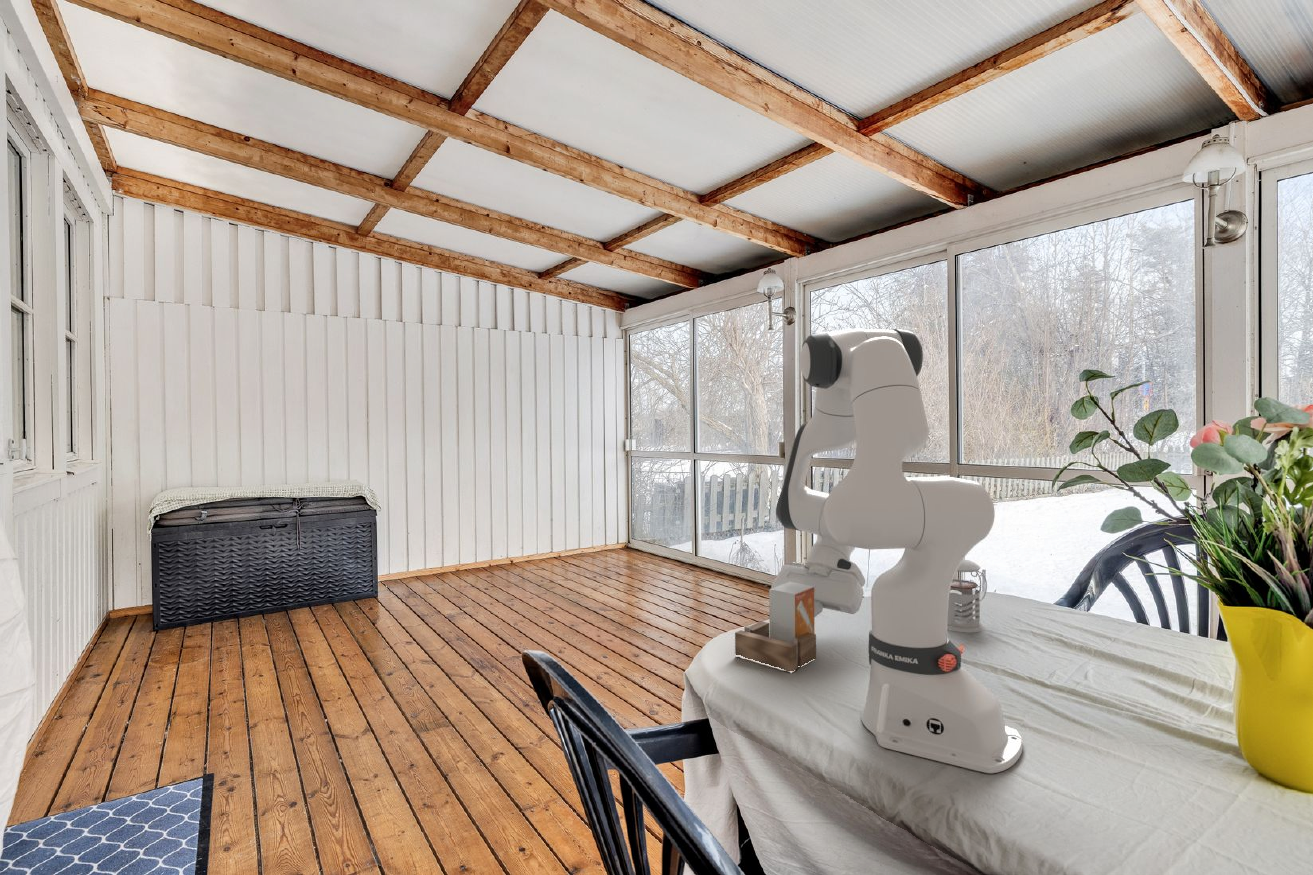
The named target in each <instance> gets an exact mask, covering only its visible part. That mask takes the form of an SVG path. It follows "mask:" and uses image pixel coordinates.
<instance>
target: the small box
mask: <svg viewBox="0 0 1313 875" xmlns="http://www.w3.org/2000/svg"><path fill="white" fill-rule="evenodd" d="M768 593H769V595H768V596H769V597H768V598H769V600H768V602H769V604H768V606H769V608H768V610H769V620H768V621H769V638H773V639H776V640H780V641H784V642H788V643H791V639H792V638H797V637H799V636H801V635H803V634H805V633H807V632H808V633H812V634H815V617H814V587H813V586H808V585H804V584H798V583H793V582H788V583H785V584H782V585H779V586H777V587H775V588H772V589H771V588H770V589H769V590H768Z"/></svg>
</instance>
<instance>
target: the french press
mask: <svg viewBox="0 0 1313 875" xmlns="http://www.w3.org/2000/svg"><path fill="white" fill-rule="evenodd" d="M980 569H981V566H980V565H979V564H977V563H976V562H973V561H972V560H968V559H965V558H964V559H963V560H962V562H961V563H960V565H959V567H958V569H957V571H956V573H958V572H959V578H957V579H956V578H953V580H952V584H951V587H950V591H957V592H960V593H961V594H959V593H957V592H949V602H948V620H947V631H948V630H949V631H952V632H958V633H970V634H971V633H979V632H983V631H984V630H985V628H986V627H985V626H984V625H983V624H982V623H981V620H980V618H981V617H980V616H981V614H980V613H981V612H980V611H981V608H980V607H981V606H980V605H981V604H980V602H982V601H983V600H984V599H985V596H986V593H987V590H988V582H987V581H988V580H987V579H986V575H984V573H983V572H981V571H980ZM974 572H975V575H973V573H974ZM962 573H970V576H972V577H974V578H977V577H978V580H979V584H978V583H977V582H974V581H972V580H964V579H962ZM980 574H981V575H982V577H983V579H984V583H985V588H984V590H985V591H984V593H983V595H982V598H980V594H981V593H980V592H981V590H982V579H981V575H980ZM978 586H979V589H976V588H978ZM973 593H974V594H973ZM973 607H974V608H973Z"/></svg>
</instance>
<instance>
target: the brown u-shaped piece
mask: <svg viewBox="0 0 1313 875" xmlns="http://www.w3.org/2000/svg"><path fill="white" fill-rule="evenodd" d="M734 647H735V648H734V653H735V654H736V655H741V656H743V657H745V658H748V659H753V660H755V661H759V662H761V663H765V664H769V665H771V666H774V667H779V668H781V669H784V670H786V671H794V670H796V669H797V670H798V668H799V667H798V666H800V667H801V666H802V665H804V664H805V663H808V662H809V661H811V660H813V659H815V660H817V634H816V633H814V634H812V633H808V632H807V633H805V634H803V635H801V636H799V637H797V638H792V639H791V643H788V642H784V641H780V640H776V639H773V638H770V622H766V621H761V620H760V621H759V622H756V623H754V624H752V625H747V626H746V625H745V626H744V630H738V631H736V632H735V633H734ZM735 654H734V655H735ZM797 667H798V668H797Z"/></svg>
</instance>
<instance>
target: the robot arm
mask: <svg viewBox="0 0 1313 875" xmlns="http://www.w3.org/2000/svg"><path fill="white" fill-rule="evenodd" d="M801 345H802V346H801V349H800V353H799V359H798V360H799V367H800V371H801V374H802V378H803V380H804V381H805V382H806V383H807V384H808V385H809V386H811V387H813V388H816V391H815V397H814V398H815V399H814V400H815V401H814V410H813V414H812V416H811V418H810V419H809V420H808V421H806V422H804V423H802V425H801V426H800V427H799V428H798V431H797V433H796V434H795V437H794V441H793V443H792V446H791V447H792V448H791V451H790V455H789V460H788V464H787V468H786V471H785V477H784V479H783V484H782V487H781V490H780V494H779V497H778V500H777V502H776V507H775V515H776V517H777V520H778V521H779V523H780V524H781V525H782V526H783V528H785V529H789V530H794V531H798V532H799V531H800V532H805V533H808V534H813V535H815V536H817V537H816V541H815V543H813V545H812V546H811V548H810V551H809V552H808V556H807V558H806V560H805V563H803V562H795V561H790V562H787V563H785V564H783V565H782V567H781V568H780V570H779V572H778V574H777V576H776V577H775V578H774V580H773V581H772V584H771V587H770V589H772V588H775V587H777V586H779V585H782V584H785V583H788V582H793V583H798V584H804V585H808V586H813V587H814V618H816V617H818V615H820V614H821V613H822V612H823V610H824V609H825V610H826V609H827V610H831V611H836V612H841V613H845V614H850V615H855V614H856V613H858V612H859V611H860V609H861V606H862V602H863V599H864V594H865V593H864V588H863V587H864V586H865V583H866V579H865V575H863V573H862V570H860V569H861V568H859V566H858V565H857V564H856V563H855V562H853V561H851V555H852V553H853V552H854V550H855V549H862V550H863V549H864V550H870V551H871V550H896V549H898V550H899V549H900V550H901V549H904V551H903V554H902V555H901V558H900V560H898V562H897V563H896V564H895V565H894V566H893V567H891V568H890V569H889V568H888V570H886V571H885V572H883V573H881V574H880V575H878V577H877V578H876V579H875V581H874V582H873V585H872V587H871V592H870V596H871V597H870V600H871V605H870V607H871V612H870V613H871V616H870V617H871V630H870V631H869V632H868V648H867V650H868V652H867V653H868V663H869V665H870V672H869V681H868V688H867V696H866V699H865V704H864V708H863V710H862V714H861V721H862V723H863V725H864V727H865V728H866V729H867V730H869V731H870V733H872V734H873V735H874V736H875V739H876V743H877V745H879V746H880V747H882V748H883V749H887V750H892V751H897V752H900V753H905V754H908V755H913V756H916V757H921V758H925V759H928V760H931V761H932V760H933V761H936V762H940V763H944V764H949V765H953V766H957V767H961V768H963V769H969V770H971V771H972V770H973V771H976V772H982V773H986V774H994V773H995V774H996V773H1000V772H1003V771H1005V770H1007V769H1010V768H1011V767H1012V766H1014V765H1015V763H1017V762H1018V760H1019V759H1020V757H1021V755H1022V752H1023V749H1024V748H1023V747H1024V746H1023V740H1022V739H1023V738H1022V736H1021V735H1020V732H1018V731H1017V729H1014V728H1011V727H1009V726H1006V723H1005V716H1004V712H1003V708H1002V705H1001V702H1000V701H999V698H997V696H996V695H995V694H993V693H992V692H991V691H990V690H989V689H988V688H986V687H985V685H983V684H982V683H980V681H978V680H977V679H976V678H975V677H974V676H972V674H970V673H969V672H968V671H967V670H966V669H965V668H964V667H962V655H963V654H964V644H962V645H960V646H959V647H956V645H955V644H954V643H953V642H952V641H951V639H950V638H949V637H948V629H947V620H948V602H949V592H950V591H951V590H950V587H951V584H952V580H953V579H955V575H956V573H957V569H958V567H959V565H960V563H961V562H962V560H963V559H965V557H966V556H967V554H969V552H970V551H971V550H972V549H973V548H974V547H975V546H976V545H978V544H979V543H980V542H982V541H983V540H984V539H985V538H986V537H987V536H988V535H989V533H990V532H991V530H992V528H993V526H994V522H995V517H996V516H995V512H996V511H995V506H994V502H993V499H992V497H991V495H990V494H989V492H988V491H987V489H986V488H985V487H984V486H983V485H982V484H980V483H979V482H977V481H975V480H970V479H969V480H968V479H963V478H959V477H953V476H916V477H913V476H912V477H909V476H904V470H903V462H904V461H906V460H908V459H910V458H912V457H913V456H914V455H916V454H917V453H919V452H920V451H921V450H922V449H923V448H924V446H926V443H927V441H928V439H929V435H930V429H929V424H928V420H927V415H926V410H925V409H926V408H925V406H924V401H923V397H922V393H921V388H920V384H919V381H918V376H919V375H920V373H921V370H922V367H923V360H924V355H923V353H924V352H923V346H922V343H921V341H920V339H919V338H918V336H917V335H916V334H915V333H914V332H912V331H909V330H906V329H905V330H904V329H898V328H894V329H892V330H891V329H877V328H876V329H875V328H874V329H871V328H870V329H867V328H866V329H864V328H863V329H862V328H851V329H842V330H834V331H830V332H828V331H825V330H824V331H820V332H816V333H813V334H810V335H808V336H807V337H806V338H805V340H804V341H803V343H802V344H801ZM853 445H856V447H855V448H856V449H855V455H854V458H853V459H854V460H853V463H852V465H851V466H850V468H849V471H848V472H847V474H846V475H845V476H844V477H843V478H842V479H841V480H840V482H838V483H837V484H836V485H835V486H834V487H833V488H832V489H831V490H830V492H824V491H820V490H816V489H815V490H814V489H812V488H809V487H808V486H807V485H806V480H807V475H808V471H809V467H810V464H811V461H812V457H813V456H814V455H816V454H819V453H823V452H830V451H831V452H833V451H837V450H842V449H845V448H847V447H850V446H853ZM950 593H951V592H950Z"/></svg>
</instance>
